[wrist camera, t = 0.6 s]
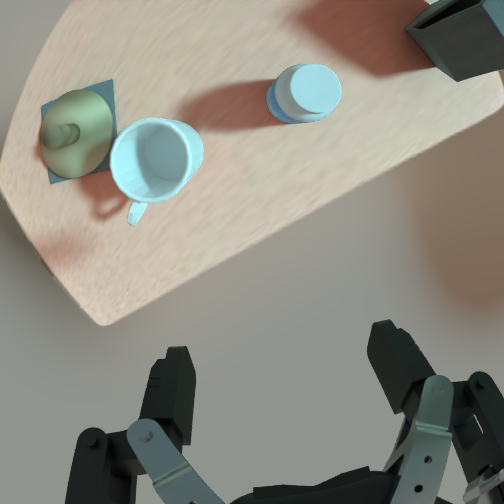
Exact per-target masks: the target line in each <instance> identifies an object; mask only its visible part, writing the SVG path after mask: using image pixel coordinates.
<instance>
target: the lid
mask: <svg viewBox="0 0 504 504" xmlns="http://www.w3.org/2000/svg"><path fill="white" fill-rule="evenodd" d="M113 136H114V119H113V114H112V111H111V109H110V106H109V105H108V103H107V102H106V100H105V99H104V98H103V97H102V96H100V95H99V94H97V93H95V92H93V91H88V90H73V91H70V92H67V93H65V94H63V95H62V96H60V97H59V98H58V99H57V100H56V101H55V102H54V103H53V104H52V105H51V107H50V108H49V109H48V111H47V113H46V115H45V117H44V119H43V122H42V126H41V131H40V148H41V152H42V156H43V158H44V160H45V162H46V164H47V165H48V167H49V168H50V169H51V170H52V171H53V172H54V173H56V174H57V175H59V176H62V177H65V178H77V177H80V176H83V175H86V174H88V173H90V172H92V171H93V170H95V169H96V168H97V167H98V166H99V165H100V164H101V163H102V162H103V160H104V159H105V157H106V156H107V154H108V152H109V150H110V147H111V144H112V141H113Z"/></svg>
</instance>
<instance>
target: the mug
mask: <svg viewBox="0 0 504 504" xmlns="http://www.w3.org/2000/svg"><path fill="white" fill-rule="evenodd" d="M203 151H204V150H203V144H202V140H201V138H200V136H199V135H198V133H197V131H196V130H194V129H193V128H192V127H191V126H190V125H188V124H186V123H183V122H181V121H176V120H170V119H163V118H144V119H141V120H137V121H134V122H133V123H131V124H130V125H128V126H127V127H126V128H124V129H123V130H122V131H121V133H120V134H119V135H118V137H117V138H116V139H115V141H114V144H113V147H112V149H111V152H110V170H111V174H112V178H113V180H114V182H115V183H116V185H117V187H118V188H119V190H120V191H122V192H123V193H124V194H125V195H126V196H127V197H128V198H131V199H133V200H132V203H131V205H130V208H129V212H128V217H127V223H128V224H129V225H131V226H133V227H134V226H135V225H136V223H137V222H138V220H139V219H140V217H141V215H142V214H143V212H144V211H145V209H146V207H147V205H148V203H149V204H153V203H158V202H162V201H165V200H167V199H169V198H171V197H172V196H174V195H176V194H177V193H178V191H179V190H180V189H181V188H182V187H183V186H184V185H185V184H186V182H187V181H188V180H189V179H190V178H191V177H192V176H193V175H194V174H195V172H196V171H197V170H198V169H199V166H200V164H201V162H202V159H203Z"/></svg>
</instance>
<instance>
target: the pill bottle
mask: <svg viewBox="0 0 504 504" xmlns="http://www.w3.org/2000/svg"><path fill="white" fill-rule="evenodd" d="M340 97H341V84H340V81H339V79H338V77H337V76H336V75H335V73H334V72H333V71H331V70H330V69H329V68H327V67H325V66H323V65H320V64H298V65H294V66H291V67H289V68H287V69H286V70H285V71H283V72H282V73H281V74H280V76H279V77H278V78H277V79H276V80H275V81H274V82H273V83H272V84H271V86H270V87H269V89H268V91H267V94H266V103H267V106H268V109H269V110H270V112H271V114H272V115H273V116H274V117H275V118H276V119H278V120H279V121H281V122H284V123H287V124H298V123H308V122H315V121H318V120H321V119H323V118H325V117H326V116H327V115H328V114H329V113H330V112H331V111H332V110H333V108H334V107H335V106H336V105H337V104H338V102H339V100H340Z"/></svg>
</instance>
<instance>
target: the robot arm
mask: <svg viewBox="0 0 504 504" xmlns="http://www.w3.org/2000/svg"><path fill="white" fill-rule="evenodd" d="M367 355H368V359H369V361H370V363H371V365H372V367H373V369H374V371H375V373H376V375H377V378H378V380H379V382H380V384H381V386H382V388H383V390H384V392H385V395H386V397H387V399H388V401H389V403H390V406H391V408H392V410H393V412H394V414H398V413H401V412H403V413H404V415H405V417H404V419H403V422H402V425H401V429H400V432H399V434H398V437H397V440H396V443H395V446H394V449H393V452H392V454H391V456H390V458H389V459H388V461H387V463H386V465H385V467H384V469H383V471H370V469H369V466H366V467H363V468H359V469H356V470H352V471H349V472H345V473H341V474H340V475H338V476H335V477H333V478H331V479H329V480H327V481H325V482H322V483H320V484H318V485H315V486H297V485H274V486H265V487H254V488H253V493H249V494H247V495H244V496H241V497H240V498H238V499H236V500H234V501H233V502H231V503H230V504H452V503H450V502H447V501H446V500H443V499H441V498H439V497H437V494H438V491H439V487H440V484H441V481H442V477H443V474H444V470H445V466H446V463H447V458H448V454H449V450H450V446H451V441H452V442H453V445H454V447H455V449H456V452H457V455H458V457H459V460H460V462H461V465H462V468H463V471H464V474H465V476H466V480H467V482H468V486H467V488H466V491H465V494H464V496H463V501H464V502H465V504H504V398H503V396H502V394H501V393H500V391H499V389H498V387H497V386H496V384H495V383H494V381H493V379H492V378H491V377H490V376H489V375H488V374H487V373H485V372H481V371H478V372H475V373H473V374H472V375H471V376H470V378H469V379H468V381H459V382H451V381H450V380H449V379H448V378H446V377H445V376H442V375H436V373H435V372H434V370H433V369H432V367H431V366H430V364H429V363H428V361H427V359H426V358H425V356H424V355H423V353H422V352H421V351H420V350H419V347H418V346H417V345H416V344H415V341H414V340H413V339H412V337H411V336H410V334H409V333H407V332H406V331H404V330H403V329H402V328H399V329H397V328H396V327H395V325H394V324H393V322H392V321H391V320H390V319H388V320H384V321H379V322H375V323H373V325H372V329H371V333H370V337H369V342H368V346H367ZM195 387H196V373H195V369H194V366H193V363H192V360H191V357H190V354H189V351H188V349H187V347H186V346H178V347H168V349H167V353H166V358H165V359H158V360H157V361H156V362H155V364H154V365H153V366H152V368H151V371H150V375H149V380H148V383H147V388H146V391H145V395H144V399H143V403H142V407H141V412H140V416H139V419H138V420H137V421H135V422H134V423H132V424H131V425H130V427H129V428H128V429H127V430H124V431H120V432H114V433H108V434H106V433H104V431H102V430H101V429H99V428H94V427H93V428H88V429H86V430H84V431H83V432H82V433H81V434H80V435H79V437H78V440H77V444H76V449H75V453H74V457H73V462H72V466H71V471H70V477H69V482H68V487H67V493H66V500H65V504H135V500H136V485H137V475H143V474H148V475H149V477H150V478H151V479H152V482H153V487H154V489H155V490H156V492H157V494H158V495H159V496H160V498H161V499H162V501H163V502H164V503H165V504H225V503H224V502H223V501H222V500H221V499H220V498H219V497H218V496H217V495H216V494H215V493H214V492H213V491H212V489H211V488H210V487H209V486H208V485H207V484H206V483H205V482H204V481H203V479H202V478H201V477H200V476H199V475H198V474H197V472H196V471H195V470H194V469H193V468H192V467H191V465H190V464H189V463H188V462H187V460H186V459H185V458H184V457H183V455H182V446H183V445H190V444H191V432H192V420H193V409H194V397H195ZM474 415H475V416H476V418H477V420H478V422H479V424H480V426H481V428H482V430H483V434H482V431H481V429H480V427H479V425H478V423H477V421H476V419H475V417H474Z"/></svg>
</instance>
